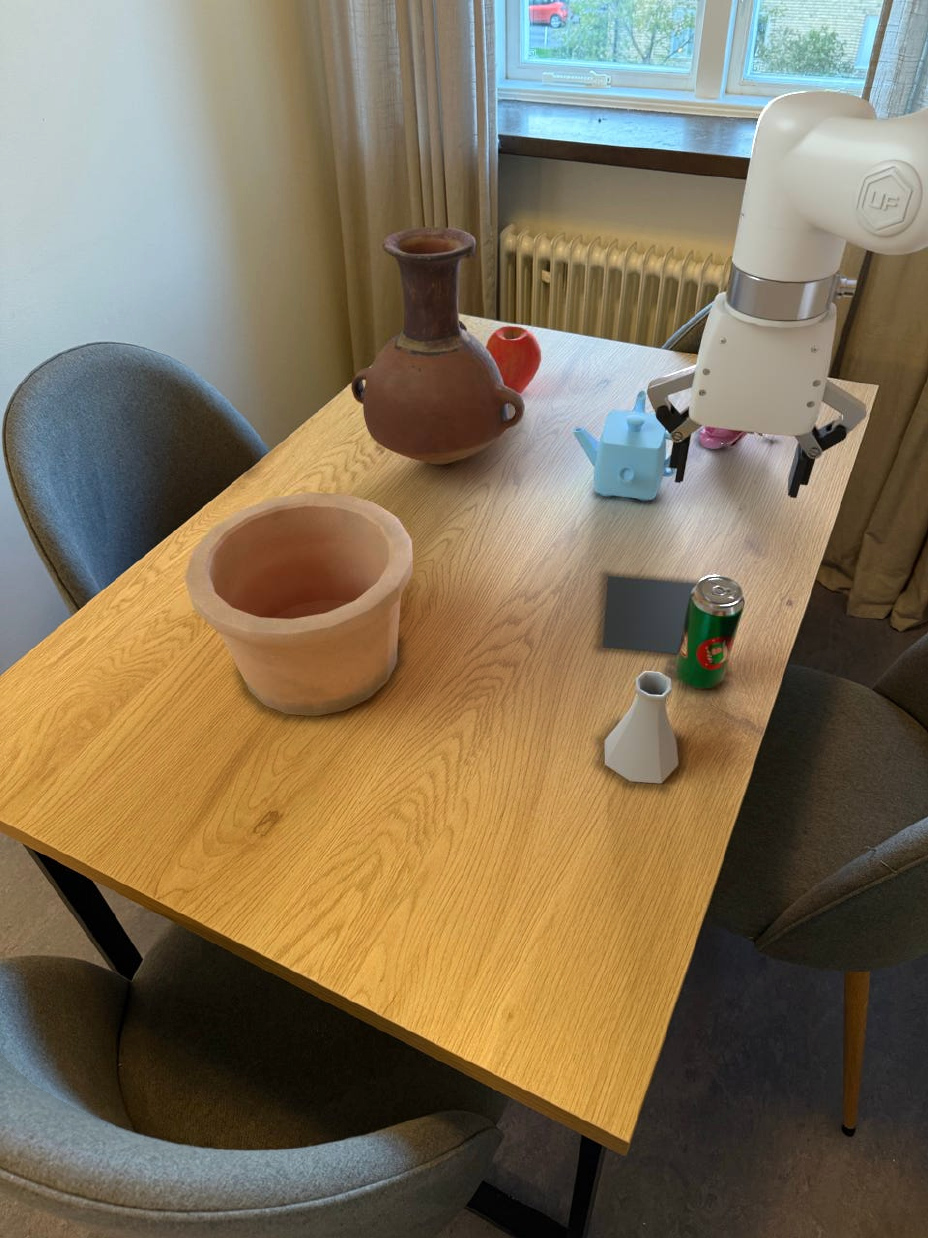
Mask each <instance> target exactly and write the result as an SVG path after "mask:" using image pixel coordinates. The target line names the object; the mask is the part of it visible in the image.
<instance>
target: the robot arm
mask: <svg viewBox="0 0 928 1238" xmlns="http://www.w3.org/2000/svg"><path fill="white" fill-rule="evenodd" d="M755 128H756V129H755V133H754V138H753V143H752V148H751V154H750V160H749V165H748V169H747V175H746V182H745V187H744V192H743V197H742V203H741V209H740V214H739V221H738V225H737V230H736V237H735V242H734V247H733V253H732V258H731V263H730V269H729V274H728V279H727V285H726V290H725V291H723V292H719V293H718V294H717V295H716V296H715V298H714V301H713V303H712V305H711V308H710V310H709V312H708V316H707V319H706V322H705V326H704V330H703V333H702V336H701V342H700V345H699V349H698V354H697V357H696V363H695V365H693V366H689V367H687V368H684V369H681V370H678V371H676V372H672V373H670V374H667V375H664V376H661V377H658V378H656V379H653V380H651V381H649V383H648V385H647V388H646V389H647V390H646V396H647V397H648V400H649V402H650V405H651V407H652V409H653V410H654V414H656V418H657V420H658V421H659V422H660V423H661V424H662V425H663V427H664V428H665V429H666V432H669V433H670V438H671V440H670V441H671V442H672V445H671V446H672V447H671V452H670V455H671V458H670V464H669V468H668V469H670V468H674V469H676V470H675V476H674V483H677V484H681V483H683V482H684V480H685V479H684V478H685V474H686V473H685V472H686V467H687V461H688V457H689V450H690V444H691V438H692V434H694V433H695V432H696V431H697V430H699V429H700V428H702V427H705V426H707V427H713V428H721V429H729V430H737V431H746V432H754V434H757V433H762V435H763V434H764V435H765V434H766V435H773V436H783V437H794V438H795V439H796V441H797V445H796V448H795V452H794V455H793V459H792V463H791V465H790V466H791V467H790V470H789V473H788V478H787V496H788V497H789V498H791V499H797V497H798V494H799V491H800V488H801V486H808V484H809V482H810V479H811V475H812V472H813V469H814V465H815V461H816V460H817V459H819V458H820V457H822V455H823V453H824V452H825V451H827V450H829V449H831V448H832V447H834V446H836V445H838V444H840V443H841V442H844V440H845V439H846V438H847V436H848V434H849V433H850V432H852V431H854V429H855V428H857V426H858V425H859V424H861V422H863V421H864V420H865V419H866V417H867V416H868V411H867V405H866V403H865V402H864V401H862V400H860V399H859V398H857V397H855V395H852V394H851V393H850V392H848V391H846V390H844V389H843V388H841V387H840V386H838V385H837V384H835V383H834V382H832V381H831V380H829V379H828V376H829V371H830V366H831V360H832V352H833V346H834V340H835V333H836V328H837V327H836V326H837V313H838V312H837V306H836V304H834V303H835V302H836V300H837V299H842V298H844V297H845V298H853V297H854V295H855V292H856V288H857V284H858V278H857V277H850V276H849V277H848V275H847V274H842V273H843V272H842V270H840V267H841V264H842V260H843V256H844V252H845V248H846V245H847V243H850V244H852V245H854V246H857V247H859V248H861V249H864V250H867V251H868V252H869V251H870V252H873V253H877V254H880V255H887V256H888V255H889V256H901V255H908V254H912V253H916V252H919V251H921V250H924V249H926V248H928V105H927V106H925V107H923V108H921V109H919V110H917V111H915V112H911V113H908V114H904V115H900V116H896V117H892V118H888V119H878V115H877V111H876V109H875V107H874V106H873V104H872V103H870V101H868V100H866V99H864V98H862V97H860V96H857V95H854V94H850V93H845V92H837V91H825V90H823V91H822V90H815V91H814V90H811V91H796V92H791V93H787V94H783V95H781V96H778V97H776V98H774V99H773V100H771V101H769V102H768V104H767V105H766V106H765V107H764V108H763V110H762V112H761V114H760V116H759V117H758V121H757V125H756V127H755ZM688 389H690V395H689V405H687V407H685V408H684V409H683V410H682V411H681V412H679V410H678V409H677V408H676V406H675V405H673V403H672V402H671V401H670V400H669V396H670V395H674V394H677V393H679V392H682V391H685V390H688ZM822 403H824V404H825V405H827V406H829V407H830V408H831V409H834V410H835V411H837V412H838V413H839V415H838V418H836V419H833V420H832V421H830V422H829V423H827V424H825V425H823V426H822V427H820V428H819V427H818V425H817V421H818V417H819V414H820V410H821V407H822Z"/></svg>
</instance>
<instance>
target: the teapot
mask: <svg viewBox="0 0 928 1238" xmlns="http://www.w3.org/2000/svg"><path fill="white" fill-rule="evenodd" d="M646 399H647V392H645V391H644V390H640V391H639V392H638V393H637V395H636V400H635V403H634V406H633V410H620V409H611V410H610V411H609V412H608V414H607V416H606V419H605V421H604V424H603V428H602V430H601V431H602V432H601V434H600V438H599V440H597V439H596V438H595V437H594V436H592V434H591V433H590V432H589V431H587V429H585V427H584V426H581V427H574V428H573V430H572V433H573V435H574V437H575V439H576V440H577V442H578V443H579V445H580V446H581V449H582V450H583V452H584V453H585V455H586V457H587V458H588V460H589V461H590V463H591V465H592V466H593V467H594V470H593V471H594V472H593V486H594V491H595V492H596V493H597V494H600V495H601V496H604V497H612V496H615V497H623V498H632V499H637V500H639V501H641V502H648V501H650V500H654V499H655V498H656V497H657V495H658V492H659V489H660V487H661V483H662V480H663V477H666V478H669V477H672V476H674V475H675V474H676V471H677V469H674V468H669V464H670V458H671V454H670V455H669V456H668V457H667V440H668V441H672V440H671V438H670V433H669V432H668V431H667V430H666V429H665V428H664V427H663V425H662V424H661V423H660V422H659V421H658V420H657V418H656V413H650V412H646Z"/></svg>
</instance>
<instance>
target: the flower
mask: <svg viewBox="0 0 928 1238" xmlns="http://www.w3.org/2000/svg"><path fill="white" fill-rule="evenodd" d="M748 434H749V435H755V433H754V432H746V431H737V430H729V429H721V428H713V427H707V426H704V428H703V429H702V431H700V436H699V437H698V439H699V442H700V444H701V446H702V447H704V448H706V449H712V450H717V449H718V450H719V449H721V448H723V447H725V446H726V445H728V444H729V445H728V450H733V449H734V448H735V447H736V446H737V445H738V444H739V443H740V442H741V441H742V440H743V438H744V437H746V436H747V435H748ZM756 434H757V435H758V436H759V437H763V438H764V439H766V440H767V441H769V442H771V443H773V442H774V441H773V440H771V439H768V438H766V437H765V436H764V435H763V433H756ZM721 443H723V444H721ZM727 443H728V444H727Z"/></svg>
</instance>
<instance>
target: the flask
mask: <svg viewBox="0 0 928 1238" xmlns="http://www.w3.org/2000/svg"><path fill="white" fill-rule="evenodd" d="M672 687H673V686H672V678H670V677H668V676H667V675H666V674H663V673H661V672H660V671H649V670H643V672H642V673H640V674H639V675H638V677H636V678H635V693H636V695H635V698H634V699H633V702H632V703H631V706H630V708H629V709H628V710H627V712H626V713H625V714H624V716H623V717H622V718H621V720H620V721H619V722H618V724H617V725H616V726H615V727H614V728H613V730H611V732H610V733H609V734H608V735H607V737H606V738H605V739H604V766H607V767H608V768H609V769H611V770H612V771H614V772H616V773H617V774H619V775H620V776H622V777H623V778H624V779H625V780H627V781H629V782H635V783H648V784H662V783H664V781H665V780H666V779H668V777H669V776H670V775H671V774H672V773H673V772H674V771H675V769H676V768H677V767H678V766H679V755H678V744H677V743H678V742H677V739H676V736H675V732H674V730H673V727H672V725H671V722H670V718H669V715H668V711H667V708H666V707H667V705H666V704H667V698H668V696H670V694H671V693H672V691H673V689H672Z"/></svg>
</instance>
